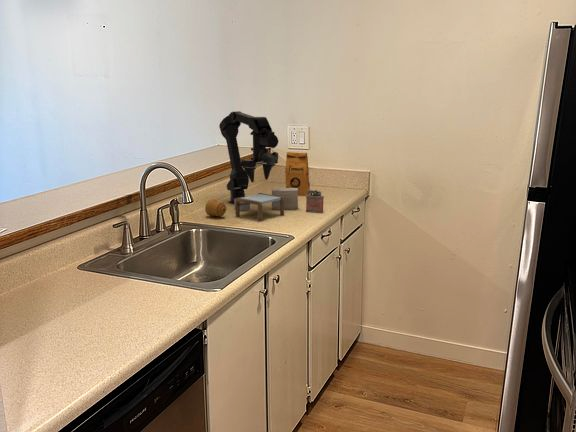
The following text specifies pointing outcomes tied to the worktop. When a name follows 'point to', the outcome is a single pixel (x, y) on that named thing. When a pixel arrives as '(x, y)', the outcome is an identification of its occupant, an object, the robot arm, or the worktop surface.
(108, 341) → the worktop surface
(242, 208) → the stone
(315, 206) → the lighter
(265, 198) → the trapdoor
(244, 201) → the stand
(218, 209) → the ornamental finial
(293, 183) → the coffee package
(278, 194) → the grey block
